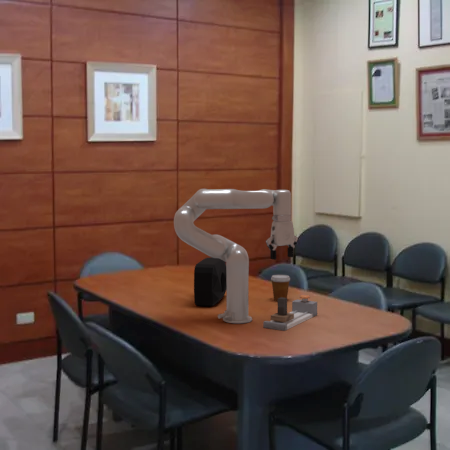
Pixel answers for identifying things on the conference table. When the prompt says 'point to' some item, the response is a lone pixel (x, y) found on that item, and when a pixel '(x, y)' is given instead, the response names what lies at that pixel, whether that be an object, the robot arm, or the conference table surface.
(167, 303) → the conference table surface
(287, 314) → the carriage
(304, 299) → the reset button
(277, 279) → the disposable coffee cup
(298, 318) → the rail track
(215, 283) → the black hard case
